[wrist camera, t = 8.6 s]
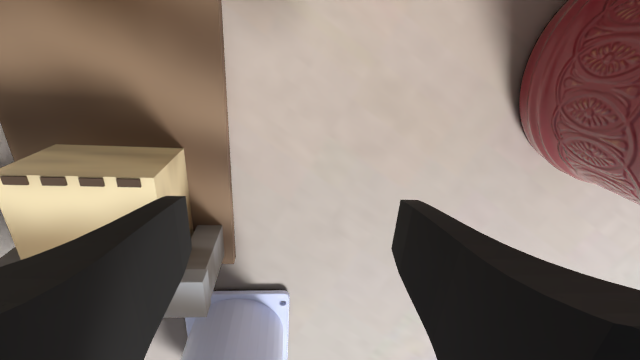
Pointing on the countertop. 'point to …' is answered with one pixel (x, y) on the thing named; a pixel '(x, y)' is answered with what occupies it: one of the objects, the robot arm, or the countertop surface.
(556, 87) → the canister
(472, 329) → the robot arm
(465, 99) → the countertop surface
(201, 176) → the board
